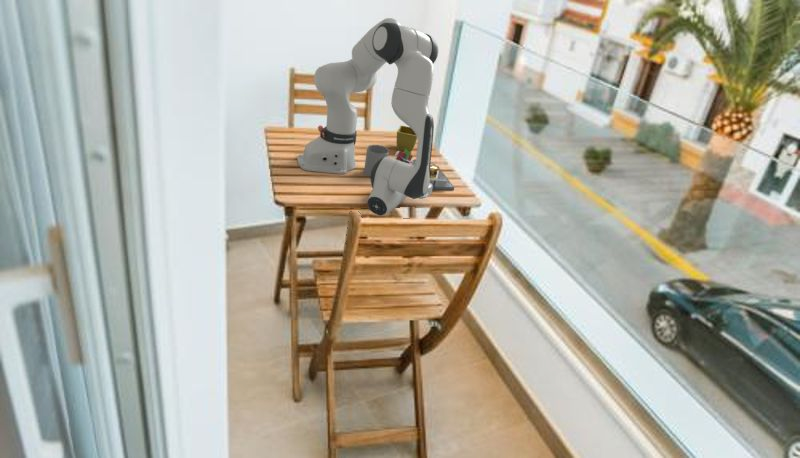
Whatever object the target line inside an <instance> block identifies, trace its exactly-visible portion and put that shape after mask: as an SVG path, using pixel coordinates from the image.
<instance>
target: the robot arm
mask: <svg viewBox="0 0 800 458" xmlns="http://www.w3.org/2000/svg"><path fill="white" fill-rule="evenodd" d="M438 55H439V45H438V42H437V39H435V38H434V37H432V36H431V35H430V34H428V33H424V32H422V31H419V30H418V29H416V28H413V27H409V26H404V25H402V23H401V22H400V21H398V20H397V19H395V18H393V17H387V18H384V19H382V20H381V21H379V22H377V23H376V24H374V26H372V28H370V29H369V30H368V31H367V32H365V34H364V35H363V36H362V37H361V38H360V39H359V41H357V42H356V43H355V45H354V46H352V49H351V59H349V60H347V61H337V62H330V63H326V64H323V65H322V66H319V67H318V68H317V69H316V70H315V72H314V76H313V77H314V78H313V82H314V85H315V87H316V89H317V91H318V92H319V93H320V94H321V95H322V97H323V98H324V100H325V103H326V126H324V127H323V126H322V125H321V124H320V125H318V126H317V130H318V132H319V134H320V135H319V136H318V137H316V138H315V139H313V140H311V141H309V142H308V143H306V145H305V148H304V150H303V152H302V153H299V154H298V155H297V158H296V160H297V165H298V166H299V168H300V169H302V170H304V171H306V172H307V171H308V172H316V173H317V172H319V173H327V174H328V173H329V174H340V175H344V174H347V172H349V171H351V170H352V171H353V169H355V168H356V167H357V163H356V159H355V158H356V156H355V145H356V142H357V137H358V136H357V135H358V134H357V120H358V109H357V108H356V107H355V106H354V105H353V104H352V103H351V99H350V96H351V94H355V93H363V92H365V91H367V90H370V89H371V88H373V87H374V86H375V85H376V82H377V72H378V71H379V70H380V69H381V68H382V67H384V65H385V64H388V65H392V64H395V66H396V67H397V76H396V79H395V82H394V87H393V91H392V93H391V95H392V96H391V108H392V111H393V113H395V115H396V117H397V118H398V119H399V120H400V121H401V122H403V124H405V125H406V126H407V127H410V128H411V129H412V130H413V131H414V132H415V134H416V136H417V143H416V144H417V147H416V157H415V158H416V164H415V165H412V163H409V164H408V163H405V162H402V161H400V160H397V159H395V158H393V157H389V156H388V157H387V156H385V157H383V158H381V159H380V160H378V161H377V162H376V163H375V165H374V166H373V168H372V171H371V177H370V185H371V188H372V190H371V193H370V194H369V196H368V198H367V200H366V205H367V207H368V209H369V211H370V212H372V213H373V214H374V215H377V216H379V217H380V216H386V215H388V214H391V212H392V211H394V210H395V209H396V208H397V207H398V205H400V204H401V203H403V202H404V201H405V199H406V198H407V197H409V198H410V199H412V200H415V199H419V200H422V199H426V198H427V197H429V196H431V194H432V193H433V190H432V188H433V185H432V184H431V183H430V163H432V162H431V160H432V151H433V142H434V141H433V140H434V131H435V129H434V128H435V123H434V117H433V116H432V114H430V110H429V98H430V95H431V90H432V87H433V86H432V85H433V81H434V79H433V77H434V70H435V69H434V64H435V62H436V61H437V58H438Z"/></svg>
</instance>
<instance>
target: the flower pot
mask: <svg viewBox="0 0 800 458" xmlns="http://www.w3.org/2000/svg"><path fill="white" fill-rule="evenodd" d="M398 127H399V128H397V129H398V130H397V131H396V148H397V149H398V151H401V150H402V151H403V152H404V151H405V149H407V150H408V151H409V152H410V153H411V152H412V151H413V150H414V148H415V146H416V144H417V142H418V139H417V136H416V134H415V132H414V131H413V130H412V129H411V128H410V127H409V126H408V125H400V126H398ZM402 151H401V152H402Z"/></svg>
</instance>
